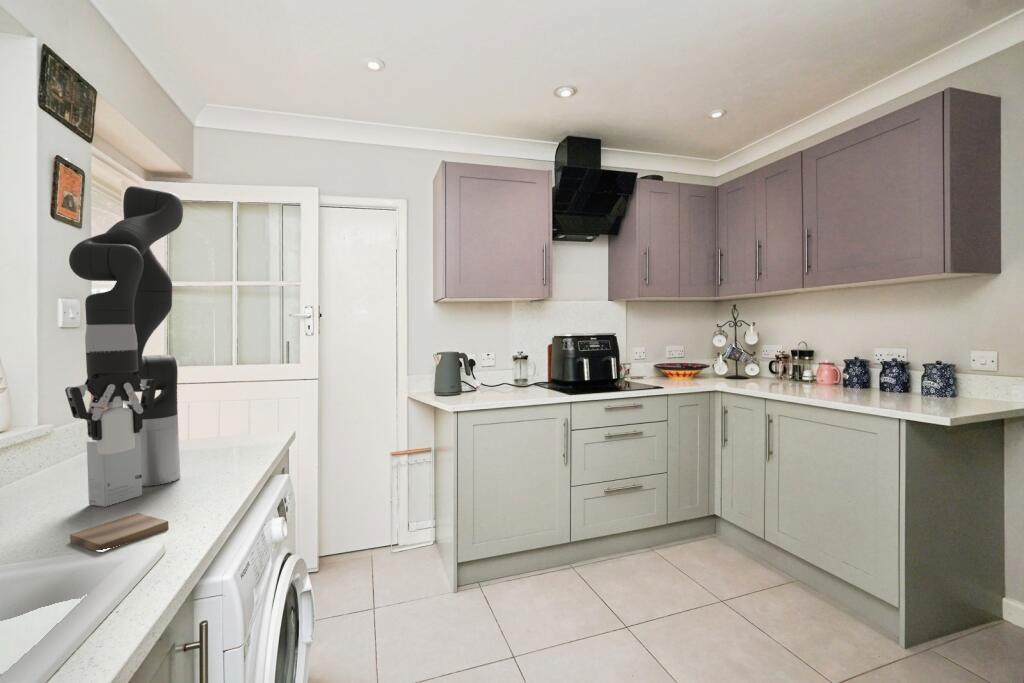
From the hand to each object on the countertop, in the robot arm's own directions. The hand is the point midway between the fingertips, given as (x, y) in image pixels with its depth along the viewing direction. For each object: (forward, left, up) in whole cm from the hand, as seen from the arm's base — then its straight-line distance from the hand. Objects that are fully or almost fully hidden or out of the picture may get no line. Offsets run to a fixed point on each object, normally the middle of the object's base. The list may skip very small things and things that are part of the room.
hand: (116, 435), depth 89 cm
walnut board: (0, 0, -19) cm, 19 cm away
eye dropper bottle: (0, 0, -3) cm, 3 cm away
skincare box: (-24, +10, -20) cm, 33 cm away
